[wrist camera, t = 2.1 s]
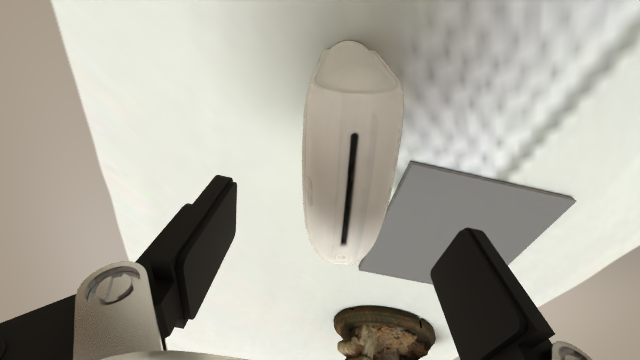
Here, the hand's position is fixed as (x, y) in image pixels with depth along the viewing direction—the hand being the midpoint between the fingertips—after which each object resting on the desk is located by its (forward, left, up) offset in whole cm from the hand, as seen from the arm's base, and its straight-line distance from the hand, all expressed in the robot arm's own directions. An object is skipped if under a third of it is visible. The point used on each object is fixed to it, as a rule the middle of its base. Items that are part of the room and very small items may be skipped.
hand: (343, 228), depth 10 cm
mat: (+10, +15, -12) cm, 22 cm away
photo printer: (-1, 0, -13) cm, 13 cm away
